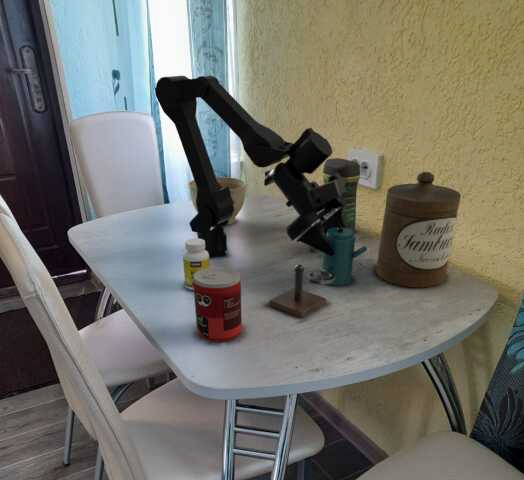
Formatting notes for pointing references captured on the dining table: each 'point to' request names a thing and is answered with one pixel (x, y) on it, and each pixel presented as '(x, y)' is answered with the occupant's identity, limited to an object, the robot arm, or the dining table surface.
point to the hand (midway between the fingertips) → (342, 248)
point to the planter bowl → (236, 191)
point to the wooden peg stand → (297, 298)
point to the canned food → (218, 303)
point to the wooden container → (417, 233)
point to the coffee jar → (352, 176)
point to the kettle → (337, 258)
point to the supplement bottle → (194, 260)
